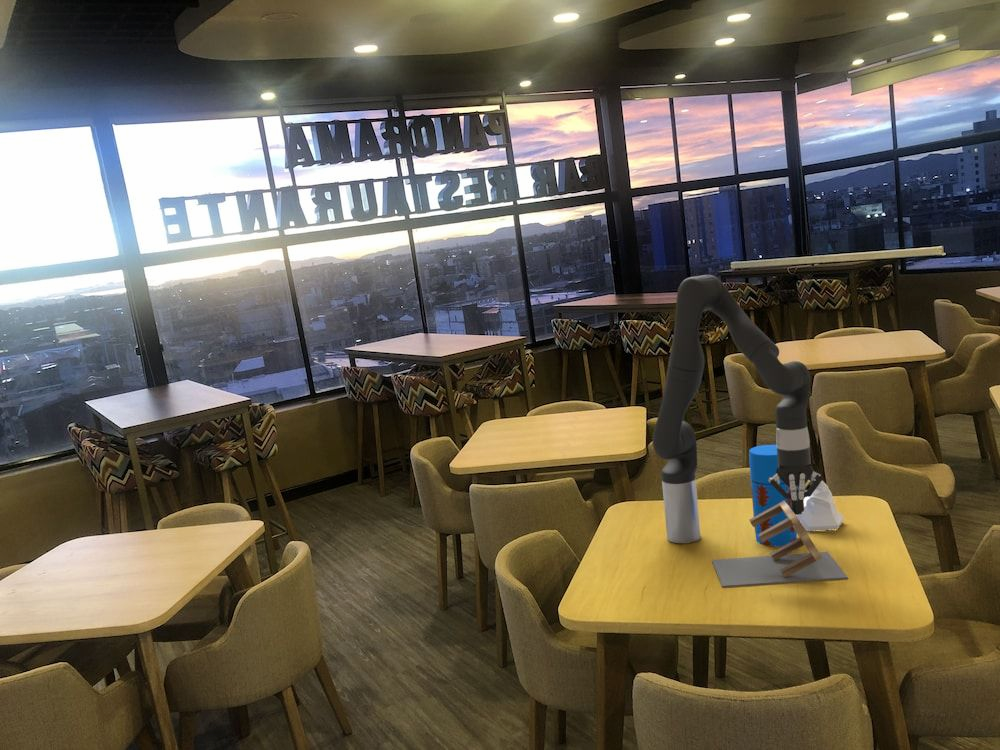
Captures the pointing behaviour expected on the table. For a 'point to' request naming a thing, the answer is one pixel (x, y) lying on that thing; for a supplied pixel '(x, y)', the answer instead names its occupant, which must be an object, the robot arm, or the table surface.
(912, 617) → the table surface
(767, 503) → the thermos
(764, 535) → the stool
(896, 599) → the table surface
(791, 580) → the mat
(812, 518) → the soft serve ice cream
